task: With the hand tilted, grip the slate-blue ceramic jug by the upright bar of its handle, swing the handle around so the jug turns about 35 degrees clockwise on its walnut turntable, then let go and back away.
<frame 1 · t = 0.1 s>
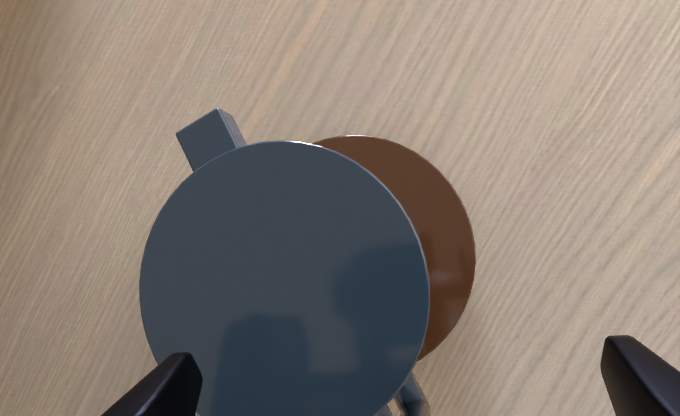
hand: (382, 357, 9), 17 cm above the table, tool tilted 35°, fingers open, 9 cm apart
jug: (336, 283, 18), point 8 cm above the table, hinge at 0.0°
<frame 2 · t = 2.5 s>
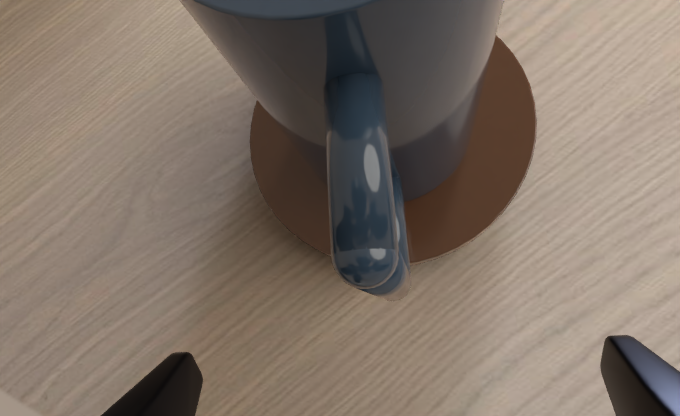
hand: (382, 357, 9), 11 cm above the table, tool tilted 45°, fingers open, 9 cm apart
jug: (368, 69, 15), point 8 cm above the table, hinge at 0.0°
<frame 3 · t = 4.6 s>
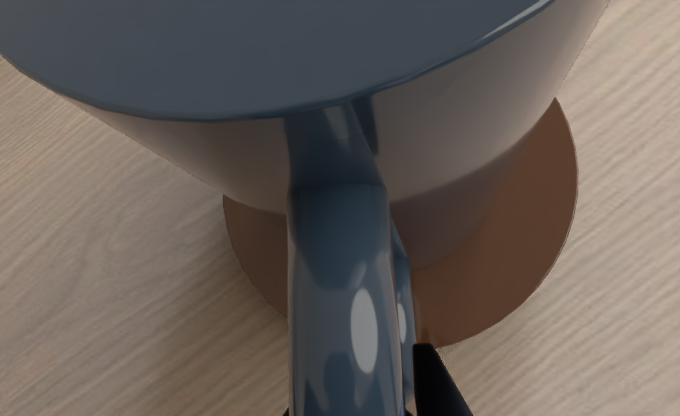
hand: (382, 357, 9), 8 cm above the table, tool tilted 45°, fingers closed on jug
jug: (366, 120, 11), point 8 cm above the table, hinge at -0.1°, touching gripper
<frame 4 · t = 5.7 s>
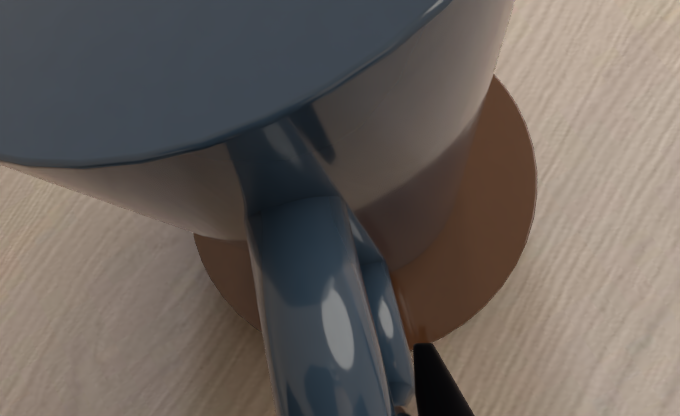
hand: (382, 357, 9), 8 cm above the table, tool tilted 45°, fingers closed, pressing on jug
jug: (319, 132, 11), point 8 cm above the table, hinge at -11.7°, touching gripper
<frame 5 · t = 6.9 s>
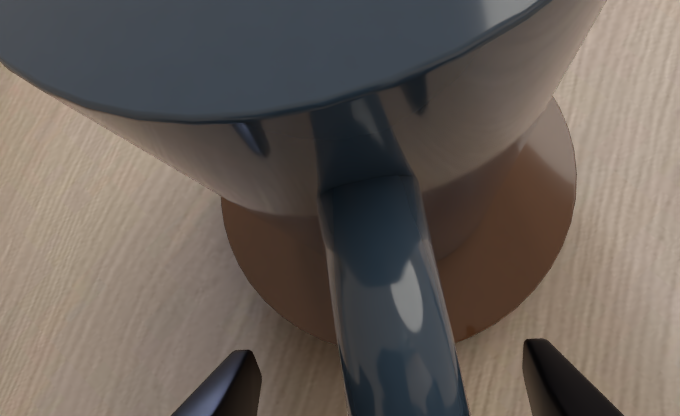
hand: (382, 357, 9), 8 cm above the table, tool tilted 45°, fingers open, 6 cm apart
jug: (367, 120, 11), point 8 cm above the table, hinge at -29.6°
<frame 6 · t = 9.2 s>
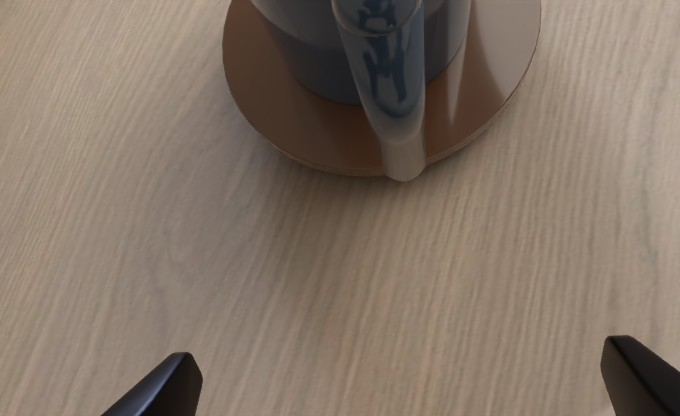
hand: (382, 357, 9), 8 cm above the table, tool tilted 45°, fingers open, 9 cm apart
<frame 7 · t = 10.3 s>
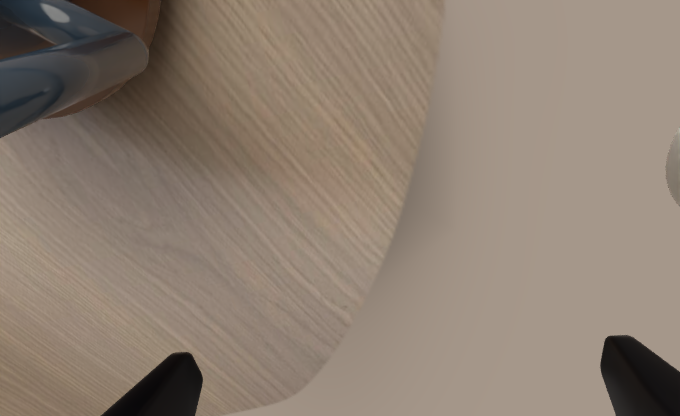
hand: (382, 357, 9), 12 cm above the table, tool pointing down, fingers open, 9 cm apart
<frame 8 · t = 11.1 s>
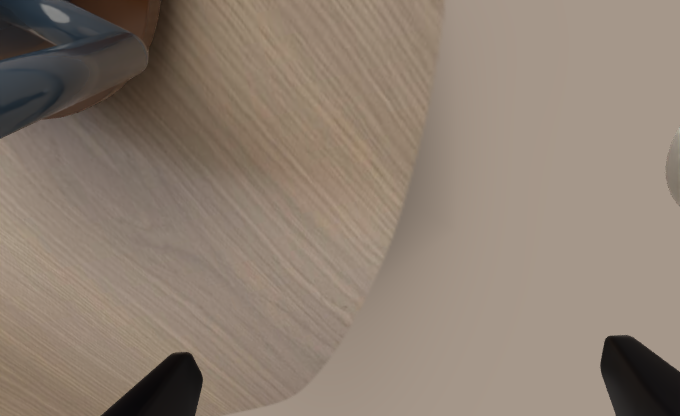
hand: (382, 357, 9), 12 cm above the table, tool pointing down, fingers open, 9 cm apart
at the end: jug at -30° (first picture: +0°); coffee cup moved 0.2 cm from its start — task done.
